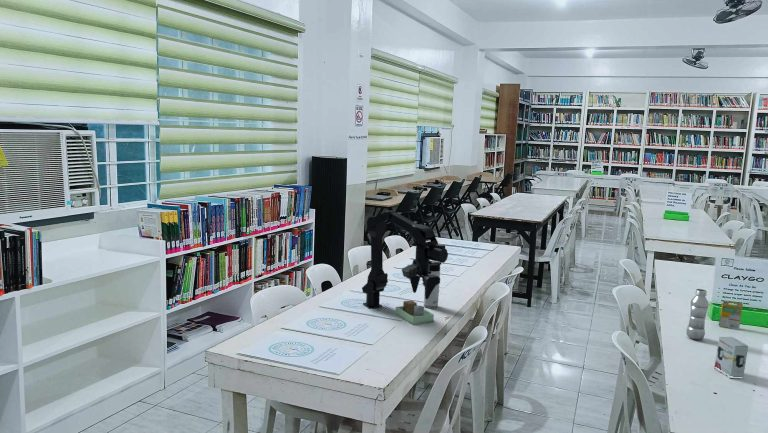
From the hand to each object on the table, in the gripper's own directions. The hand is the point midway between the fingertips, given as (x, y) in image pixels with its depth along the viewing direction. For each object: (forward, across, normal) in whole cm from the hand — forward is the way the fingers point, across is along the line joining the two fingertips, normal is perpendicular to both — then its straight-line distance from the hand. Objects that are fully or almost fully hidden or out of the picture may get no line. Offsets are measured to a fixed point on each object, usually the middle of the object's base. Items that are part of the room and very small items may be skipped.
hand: (420, 295), depth 233 cm
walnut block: (+10, -7, 0) cm, 12 cm away
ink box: (+11, +84, +72) cm, 111 cm away
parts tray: (+10, -4, 0) cm, 11 cm away
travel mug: (+11, -14, +15) cm, 23 cm away
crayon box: (+11, +55, +121) cm, 133 cm away
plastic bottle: (+11, +58, +93) cm, 110 cm away
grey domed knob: (+10, 0, 0) cm, 10 cm away
